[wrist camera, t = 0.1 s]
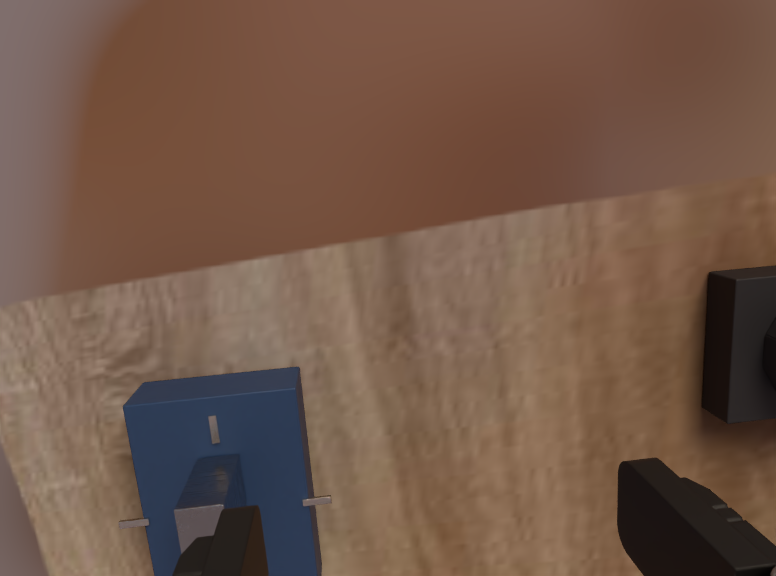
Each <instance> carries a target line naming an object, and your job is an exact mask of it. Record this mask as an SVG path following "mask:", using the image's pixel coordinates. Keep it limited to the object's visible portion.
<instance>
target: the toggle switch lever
mask: <svg viewBox="0 0 776 576" xmlns="http://www.w3.org/2000/svg"><path fill="white" fill-rule="evenodd" d="M245 506H247V502H246V495H245V488H244V481H243V474H242V467H241V460H240V455H239V454H233V455H225V456H216V457H207V458H198V459H197V461H196V463H195V465H194V467H193V470H192V472H191V474H190V476H189V478H188V481H187V483H186V485H185V487H184V489H183V491H182V494H181V496H180V498H179V500H178V502H177V505H176V507H175V509H174V515H175V520H176V526H177V532H178V537H179V543H180V549H181V554H182V553H183V552H184V551H185V550H186V549H187V547H188V546H189V545H190V544H191V543H192V542H193V541H194V540H195V539H196V538H197V537H204V536H212V535H214V532H215V529H216V526H217V523H218V520H219V517H220V514H221V511H222V510H223V509H228V508H236V507H245Z"/></svg>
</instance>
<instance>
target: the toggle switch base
mask: <svg viewBox="0 0 776 576" xmlns="http://www.w3.org/2000/svg"><path fill="white" fill-rule="evenodd" d="M123 411H124V416H125V421H126V426H127V432H128V437H129V442H130V448H131V453H132V458H133V464H134V469H135V474H136V479H137V485H138V490H139V495H140V501H141V506H142V511H143V517H144V518H137V519H129V520H121V521H119V527H120V529H123V528H131V527H139V526H145V527H146V532H147V538H148V543H149V548H150V554H151V559H152V564H153V570H154V575H155V576H172V575H173V572H174V570H175V567H176V565H177V562H178V559H179V557H180V555H181V549H180V543H179V537H178V532H177V526H176V520H175V515H174V509H175V507H176V505H177V502H178V500H179V498H180V496H181V494H182V491H183V489H184V487H185V485H186V483H187V481H188V478H189V476H190V474H191V472H192V470H193V467H194V465H195V463H196V461H197V459H198V458H207V457H216V456H225V455H233V454H239V455H240V460H241V467H242V474H243V481H244V488H245V495H246V502H247V506H253V505H258V506H259V509H260V513H261V520H262V527H263V535H264V542H265V549H266V556H267V564H268V573H269V576H321V572H322V562H321V553H320V544H319V536H318V527H317V518H316V509H315V505H319V504H327V503H331V495H327V496H319V497H314V492H313V483H312V474H311V465H310V456H309V448H308V439H307V430H306V421H305V412H304V403H303V395H302V386H301V377H300V368H299V367H290V368H281V369H271V370H261V371H251V372H242V373H232V374H222V375H212V376H203V377H193V378H183V379H173V380H164V381H154V382H144V383H143V384H142V385H141V386H140V387H139V388H138V389H137V391H136V392H135V393H134V394H133V395H132V396H131V397H130V399H129V400H128V401H127V402H126V403H125V404H124V405H123Z"/></svg>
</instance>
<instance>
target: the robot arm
mask: <svg viewBox="0 0 776 576" xmlns="http://www.w3.org/2000/svg"><path fill="white" fill-rule="evenodd" d="M617 526H618V532H619V536H620V540H621V542H622V545H623V547H624V549H625V551H626V553H627V554H628V556H629V557H630V558H631V559H632V561H633V562H634V563H635V565H636V566H637V567H638V569H639V570H640V571H641V573H642V574H643V575H644V576H776V546H775V545H774V544H773V543H772V542H770V541H769V540H768V539H767V538H766V537H765V536H763V535H762V534H761V533H760V532H759V531H758V530H756V529H755V528H754V527H753V526H752V525H751V524H749V523H748V522H747V521H746V520H745V521H743V519H742V517H741V516H740V515H739V514H738V513H737V512H735V511H734V510H733V509H732V508H728V506H727V504H726V503H725V502H724V501H723V500H721V499H720V498H719V497H718V496H717V495H716V494H714V493H713V492H712V491H711V490H710V489H708V488H706V487H704V486H702V485H700V484H698V483H696V482H694V481H692V480H690V479H688V478H680V477H678V476H677V475H676V474H675V473H674V472H673V471H672V470H671V469H670V468H668V467H667V466H666V465H665V464H664V463H663V462H662V461H661V460H659V459H657V458H647V459H639V460H631V461H623V462H621V464H620V465H619V469H618V508H617ZM172 576H269V573H268V564H267V556H266V549H265V542H264V535H263V527H262V520H261V513H260V509H259V506H258V505H253V506H245V507H236V508H228V509H223V510H222V511H221V514H220V517H219V520H218V523H217V526H216V529H215V532H214V535H212V536H204V537H197V538H196V539H195V540H194V541H193V542H192V543H191V544H190V545H189V546H188V547H187V549H186V550H185V551H184V552H183V553H182V554H181V555H180V557H179V559H178V562H177V565H176V567H175V570H174V572H173V575H172Z"/></svg>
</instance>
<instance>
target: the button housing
mask: <svg viewBox="0 0 776 576" xmlns="http://www.w3.org/2000/svg"><path fill="white" fill-rule="evenodd" d="M702 407H703V408H704V409H705V410H707V411H709V412H710V413H712V414H713V415H715V416H716V417H718V418H719V419H721V420H722V421H724V422H725V423H727V424H731V423H739V422H748V421H756V420H765V419H773V418H776V266H767V267H756V268H745V269H735V270H724V271H714V272H709V284H708V303H707V323H706V342H705V361H704V381H703V400H702Z"/></svg>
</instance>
